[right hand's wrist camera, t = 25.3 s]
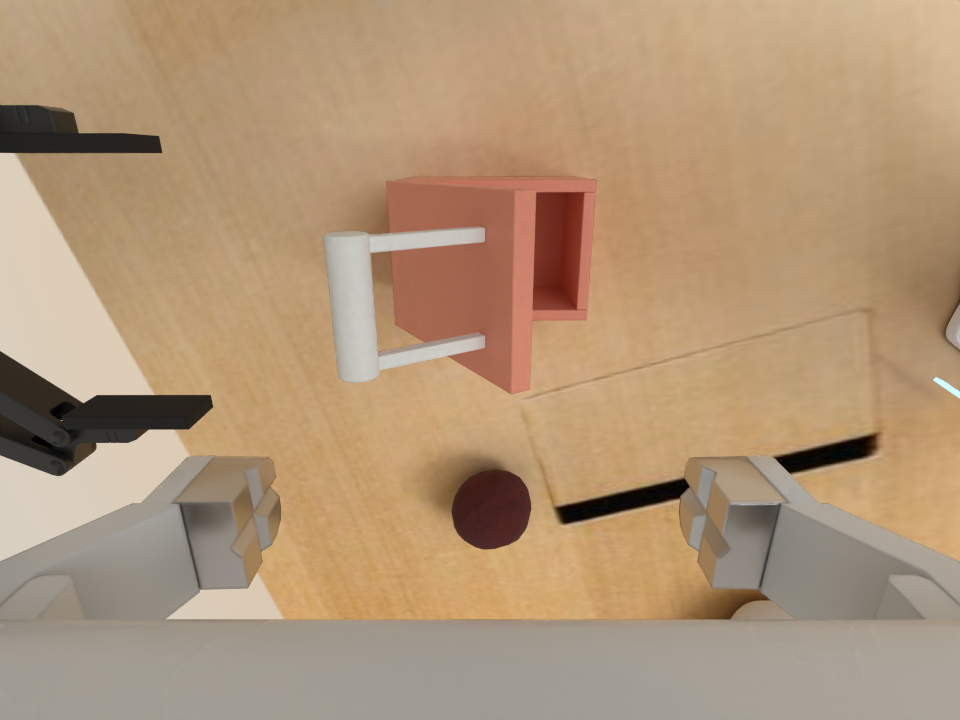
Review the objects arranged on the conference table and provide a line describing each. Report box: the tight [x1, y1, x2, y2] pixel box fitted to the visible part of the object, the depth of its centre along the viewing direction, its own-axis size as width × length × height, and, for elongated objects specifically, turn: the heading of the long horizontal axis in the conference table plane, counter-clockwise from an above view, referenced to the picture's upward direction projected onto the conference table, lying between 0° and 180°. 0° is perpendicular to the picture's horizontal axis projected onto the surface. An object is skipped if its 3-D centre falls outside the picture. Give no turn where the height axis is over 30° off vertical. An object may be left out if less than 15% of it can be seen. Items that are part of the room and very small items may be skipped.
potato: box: [452, 470, 531, 549], centre depth 50 cm, size 7×8×7 cm
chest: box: [398, 176, 596, 320], centre depth 41 cm, size 13×10×9 cm
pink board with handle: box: [323, 181, 536, 394], centre depth 28 cm, size 14×10×9 cm
